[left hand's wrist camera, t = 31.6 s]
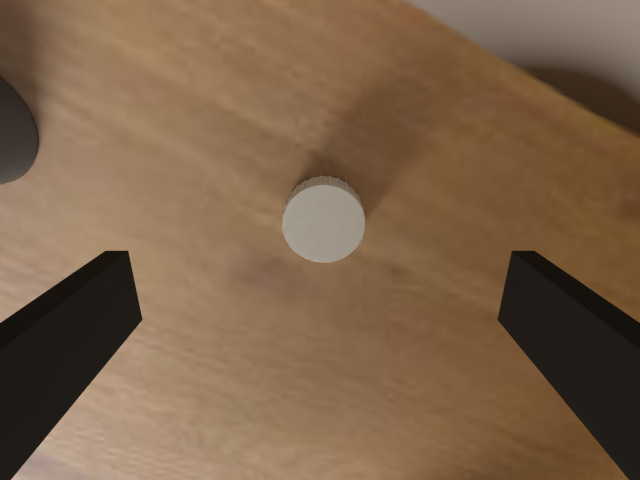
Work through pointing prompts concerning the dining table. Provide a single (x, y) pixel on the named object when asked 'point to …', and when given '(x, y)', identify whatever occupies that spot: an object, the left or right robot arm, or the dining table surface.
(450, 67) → the dining table surface
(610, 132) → the dining table surface
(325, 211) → the cap
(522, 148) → the dining table surface
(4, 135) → the bottle
